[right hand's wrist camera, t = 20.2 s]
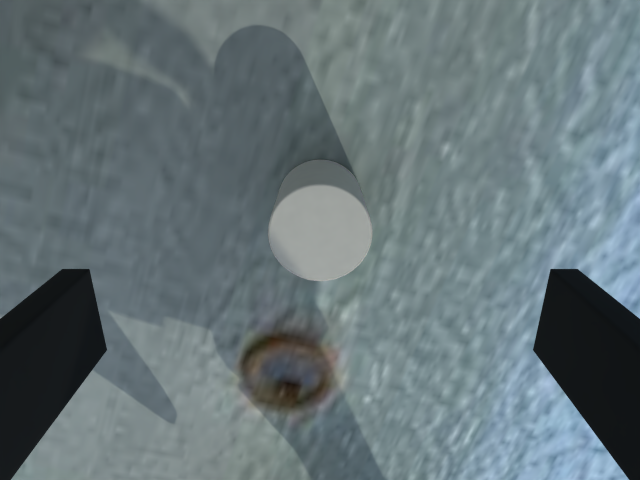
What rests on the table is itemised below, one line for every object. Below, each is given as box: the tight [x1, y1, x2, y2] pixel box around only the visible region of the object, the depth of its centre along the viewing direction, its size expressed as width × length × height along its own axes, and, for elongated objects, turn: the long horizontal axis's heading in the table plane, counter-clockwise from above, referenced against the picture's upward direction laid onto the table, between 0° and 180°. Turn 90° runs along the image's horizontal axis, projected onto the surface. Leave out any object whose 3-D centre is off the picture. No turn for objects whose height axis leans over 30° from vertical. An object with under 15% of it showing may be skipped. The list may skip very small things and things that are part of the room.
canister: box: [268, 159, 372, 281], centre depth 20 cm, size 4×4×5 cm
